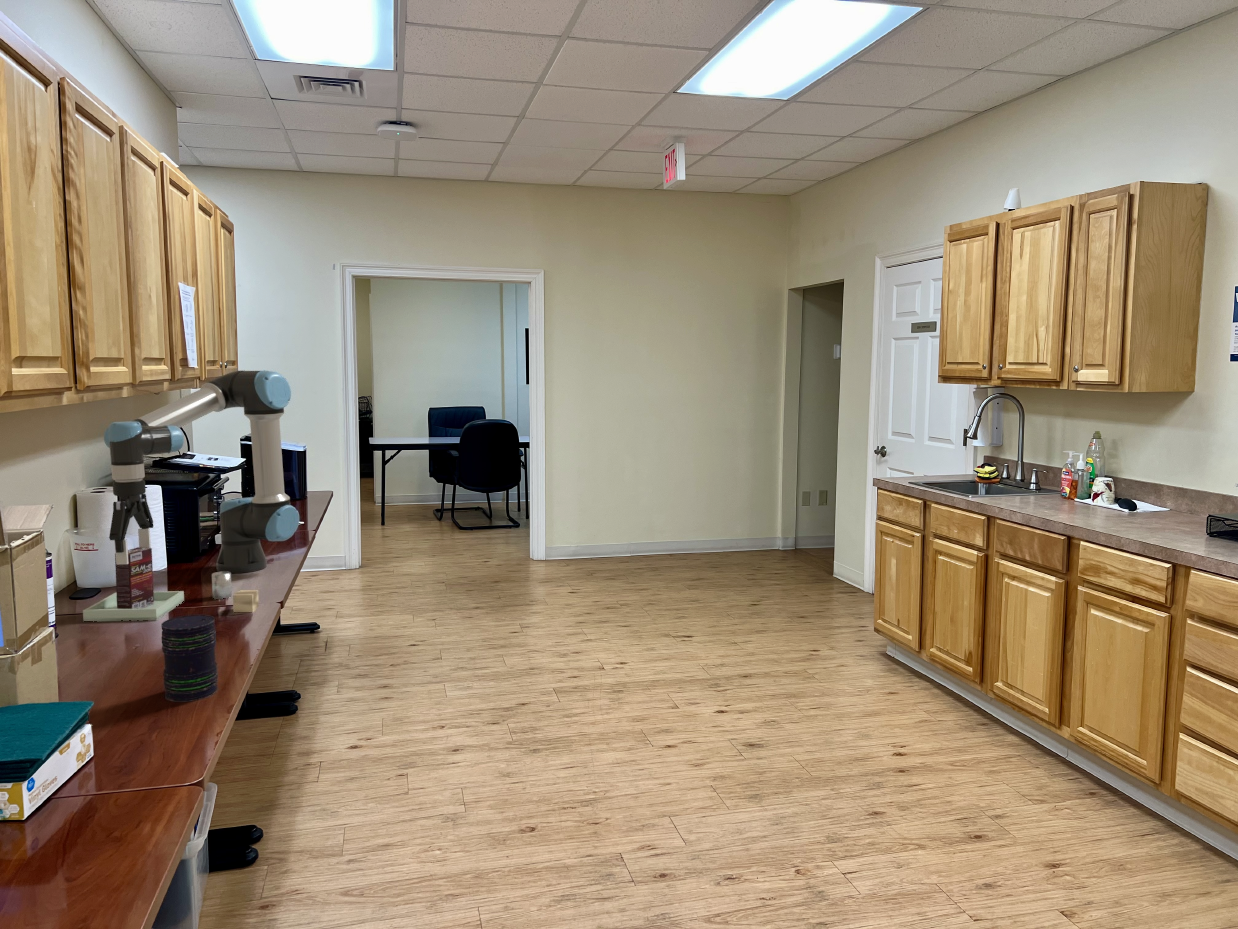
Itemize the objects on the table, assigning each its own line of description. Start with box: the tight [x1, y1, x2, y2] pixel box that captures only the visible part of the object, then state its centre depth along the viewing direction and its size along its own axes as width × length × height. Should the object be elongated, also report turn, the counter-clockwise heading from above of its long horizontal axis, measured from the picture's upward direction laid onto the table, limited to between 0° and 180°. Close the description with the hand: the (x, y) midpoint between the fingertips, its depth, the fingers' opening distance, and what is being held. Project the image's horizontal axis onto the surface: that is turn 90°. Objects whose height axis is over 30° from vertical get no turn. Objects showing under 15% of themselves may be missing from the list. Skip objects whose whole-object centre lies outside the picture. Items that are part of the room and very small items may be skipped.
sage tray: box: [82, 590, 185, 623], centre depth 230 cm, size 18×18×3 cm
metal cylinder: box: [211, 571, 233, 600], centre depth 245 cm, size 5×5×7 cm
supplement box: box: [114, 546, 155, 609], centre depth 230 cm, size 9×5×16 cm, turn 169°
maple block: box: [232, 589, 260, 613], centre depth 232 cm, size 5×5×5 cm
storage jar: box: [160, 614, 219, 703], centre depth 173 cm, size 10×10×15 cm
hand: (134, 558), depth 229 cm, fingers open, 13 cm apart
